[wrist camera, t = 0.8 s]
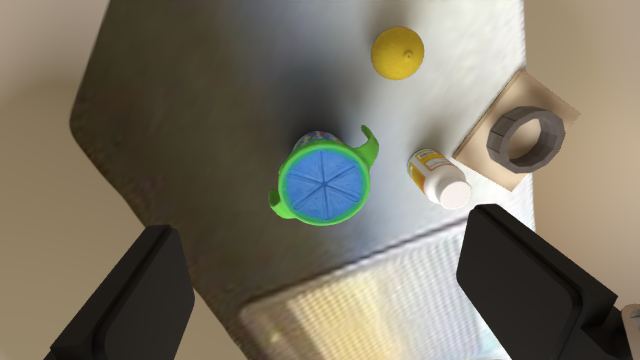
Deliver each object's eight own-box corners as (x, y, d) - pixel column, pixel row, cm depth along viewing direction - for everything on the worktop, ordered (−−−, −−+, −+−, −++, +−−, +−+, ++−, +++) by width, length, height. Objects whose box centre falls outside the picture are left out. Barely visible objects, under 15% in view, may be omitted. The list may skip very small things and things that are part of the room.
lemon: (355, 51, 37) (371, 54, 30) (390, 17, 35) (416, 12, 28) (382, 85, 39) (403, 95, 32) (416, 53, 38) (446, 57, 30)
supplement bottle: (425, 186, 46) (457, 221, 37) (399, 171, 45) (425, 203, 36) (448, 158, 44) (487, 188, 36) (422, 141, 43) (455, 168, 34)
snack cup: (290, 207, 46) (290, 249, 37) (250, 152, 41) (239, 185, 32) (381, 158, 43) (405, 190, 34) (349, 94, 39) (367, 112, 30)
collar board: (518, 69, 40) (541, 73, 36) (574, 112, 43) (600, 119, 39) (451, 157, 44) (465, 167, 41) (507, 188, 48) (524, 201, 44)
